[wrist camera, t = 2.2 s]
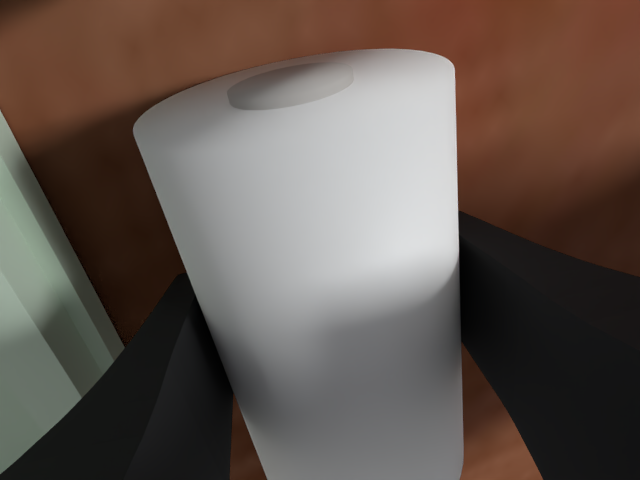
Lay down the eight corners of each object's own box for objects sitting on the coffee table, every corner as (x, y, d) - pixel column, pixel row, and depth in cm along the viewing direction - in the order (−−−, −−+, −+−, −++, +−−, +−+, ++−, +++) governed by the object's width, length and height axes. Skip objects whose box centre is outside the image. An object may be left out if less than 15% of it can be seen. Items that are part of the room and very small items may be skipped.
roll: (151, 81, 9) (93, 174, 5) (393, 28, 10) (525, 76, 6) (260, 396, 14) (277, 578, 10) (420, 353, 15) (503, 513, 10)
